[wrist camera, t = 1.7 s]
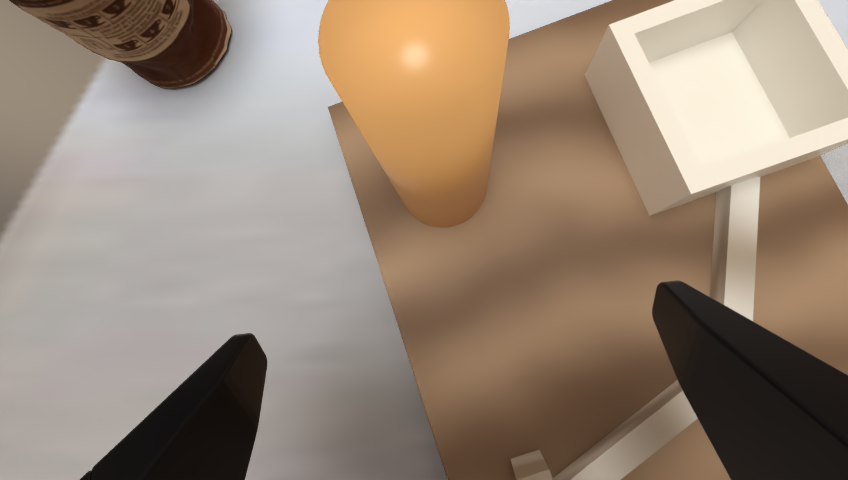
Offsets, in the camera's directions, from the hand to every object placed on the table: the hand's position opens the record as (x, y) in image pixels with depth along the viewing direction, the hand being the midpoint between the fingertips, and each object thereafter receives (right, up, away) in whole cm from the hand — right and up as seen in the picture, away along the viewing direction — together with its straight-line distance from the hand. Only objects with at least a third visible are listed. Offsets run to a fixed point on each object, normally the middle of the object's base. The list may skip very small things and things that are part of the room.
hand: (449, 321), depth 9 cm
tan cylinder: (0, +5, +13) cm, 14 cm away
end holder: (+13, +8, +12) cm, 19 cm away
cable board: (+9, +1, +12) cm, 15 cm away
